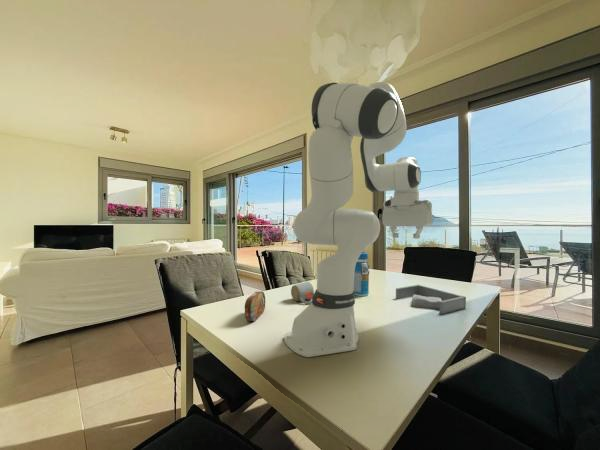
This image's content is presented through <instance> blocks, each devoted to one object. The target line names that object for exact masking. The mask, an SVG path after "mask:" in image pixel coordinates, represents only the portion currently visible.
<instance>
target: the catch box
mask: <svg viewBox="0 0 600 450" xmlns="http://www.w3.org/2000/svg"><path fill="white" fill-rule="evenodd" d="M413 294H414V295H420V296H425V297H438V298H441V300H442V301H440V309H439V314H441V315H443V314H444V315H445V314H447V313H451V312H455V311H459V310H462V309H466V308H467V307H466V306H467V305H466V304H467V303H466V302H467V297H466V296H463V295H460V294H455V293H452V292H448V291H444V290H440V289H437V288H432V287H429V286H425V285H421V284H415V285H410V286H404V287H398V288H397V287H396V288H395V300H396V299H397V300H400V299H405V298H410V297H413Z"/></svg>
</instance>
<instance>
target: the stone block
mask: <svg viewBox="0 0 600 450" xmlns="http://www.w3.org/2000/svg"><path fill="white" fill-rule="evenodd" d="M440 301H442V300H441V298H438V297H425V296H420V295H414V294H413V296H412V298H411V304H412V306H413V307H416V308H424V309H431V310H432V309H435V310H440Z"/></svg>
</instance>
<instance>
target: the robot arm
mask: <svg viewBox="0 0 600 450" xmlns="http://www.w3.org/2000/svg"><path fill="white" fill-rule="evenodd" d="M311 117H312V119H311V121H312V125H313V128H314V131H313V132H312V133H311V135H310V136H309V141H308V169H309V170H308V171H309V176H310V178H309V179H310V185H311V187H310V189H311V191H310V192H311V198H310V201H309V203H308V204H307V206H306V207H305V208H304V209H303V210H301V211H300V212H298V213H297V215H296V216H295V218H294V222H293V232H294V235H295V237H296V239H297V240H298V241H299V242H302V243H305V244H308V245H310V244H311V245H314V246H315V245H317V246H319V245H320V246H337V251H336V252H335V253H334V254H332V255H329V256H327V257H325V258H324V259H321V261H320V262H318V265H317V267H316V289H315V290H314V295H313V293H311V292H306V295H305V297H306V298H308V299H309V300H311V301H312V303H311V304H308V306H307V307H305V308H304V310H302V311H301V312H300V313H299V314H298V315H297V316H296V317H295V318H294V320H293V322H292V327H291V331H289V332H286V333H285V334H284V337H283V338H284V343H285V345H286V346H287V347H288V348H289V349H290V350H291V351H292V352H294V353H295V354H297V355H299V356H301V357H305V358H312V357H313V358H314V357H318V356H325V355H331V354H336V353H337V354H339V353H344V352H349V351H350V352H351V351H355V350H357V347H358V345H357V343H358V341H359V339H360V338H359V334H358V332H357V331H358V330H357V325H356V319H355V309H354V306H355V303H356V295H355V292H354V290H353V285H354V271H355V266H356V262H357V260H358V258H359V256H360V255H361V253H362V252H365V250H366V249H367V248H368V247H369V246H371V245H372V244H374V243H375V242H376V240H377V239H378V237H379V235H380V231H381V224H380V223H381V222H380V219H379V218H378V216H377V214H375V212H373V211H371V210H367V209H366V210H365V209H361V208H342V207H344V206H346V205H347V204H348V202H349V201H350V200H351V199H352V197H353V195H354V164H353V163H354V162H353V152H352V146H351V145H352V141H353V138H354V137H360V138H361V140H360V144H359V152H360V158H361V164H362V169H363V174H364V184H365V187H366V188H367V190H369V191H370V192H371V193H373V194H374V193H381V192H389V191H391V192H392V191H393V196H392V197H391V198H389V199H387V200H385V201H383V205H382V206H383V210H382V225H383V226H384V227H389V229H390V231H391V233H392V238H399V236H400V235H399V232H398V231H397V230H396V229H397V227H415V229H416V231H415V233H413V234H412V235H413V236H412V237H413V239H416V240H418V239H420V237H421V234H422V231H423V230H424V227H431V226H432V225H433V222H434V220H433V219H434V218H433V209H432V205H433V204H432V202H431V201H429V200H428V199H423V200H421V199H420V191H419V185H420V183H422V182H421V180H422V179H421V175H422V174H421V173H422V172H421V167H419V163H418V160H417V159H416V158H415V157H412V156H405V157H401V158H399V159H397V160H396V162H393V163H386V164H385V163H384V164H378V163H377V161H376V158H377V157H378V156H381V155H383V154H385V153H390V152H391V151H393V150H394V149H396V148H397V147H398V146H399V145H400V144H401V143H403V141H404V139H405V137H406V133H407V126H408V125H407V120H406V119H407V118H406V115H405V112H404V107H403V105H402V102H401V100H400V98H399V95H398V93H397V91H396V90H395V88H394V86H393V85H391V83H388V82H386V81H377V82H374V83H372V84H369V85H368V86H367V85H364V84H363V85H361V84H358V83H354V82H353V83H351V82H350V83H349V82H348V83H347V82H345V83H344V82H343V83H342V82H341V83H338V82H330V83H325V84H323V85H321V86H319V87H318V88H317V90H316V91H315V92H314V95H313V98H312V102H311Z"/></svg>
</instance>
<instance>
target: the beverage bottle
mask: <svg viewBox="0 0 600 450" xmlns="http://www.w3.org/2000/svg"><path fill="white" fill-rule="evenodd" d="M368 255H369V254H368V252H365V251H363V252H362V253H361V255H360V256H359V258H358V260H357V262H356V266H355V271H354V285H353V290H354V292H355V297H367V296H368V295H369V294H370V292H369V288H370V287H369V286H370V285H369V282H370V270H369V268H370V266H369V263H368V261H367V260H368Z"/></svg>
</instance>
